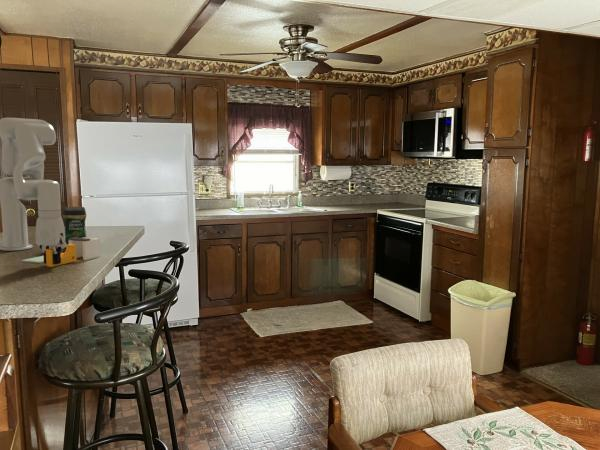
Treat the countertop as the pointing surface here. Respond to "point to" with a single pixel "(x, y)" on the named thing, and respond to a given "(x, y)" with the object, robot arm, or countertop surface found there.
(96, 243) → the hollow square frame
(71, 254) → the orange branched block
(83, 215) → the coffee jar
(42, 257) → the mat
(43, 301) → the countertop surface
